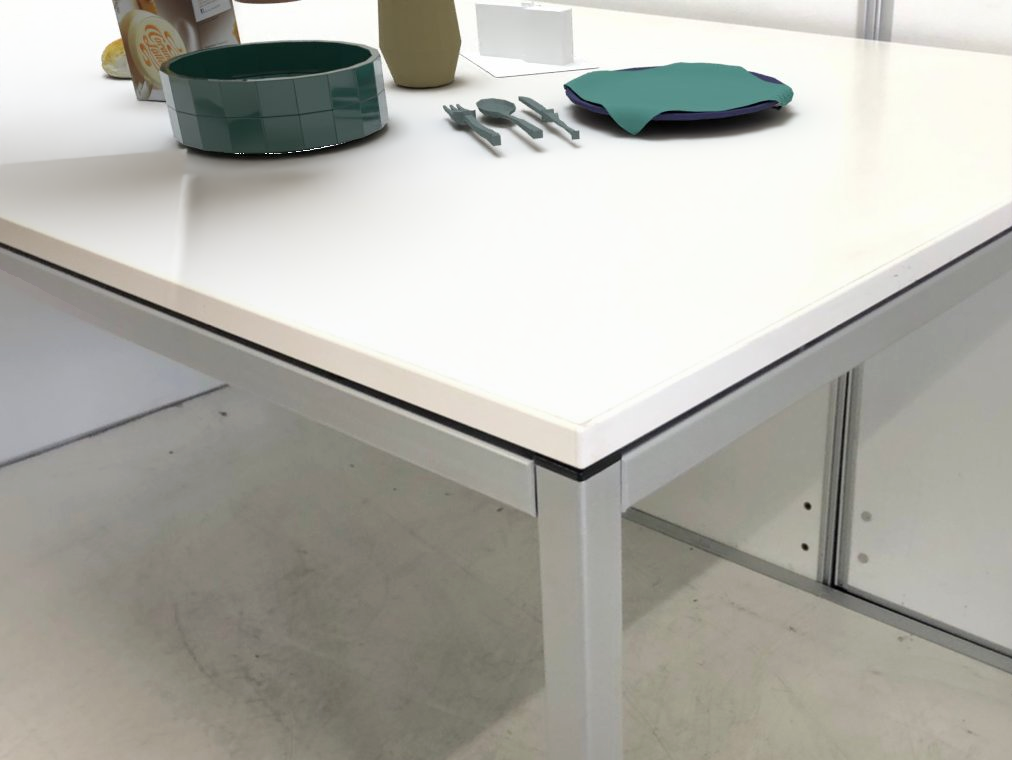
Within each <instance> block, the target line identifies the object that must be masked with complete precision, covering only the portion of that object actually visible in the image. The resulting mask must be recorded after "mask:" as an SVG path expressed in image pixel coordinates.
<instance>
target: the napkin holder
mask: <svg viewBox="0 0 1012 760" xmlns="http://www.w3.org/2000/svg"><path fill="white" fill-rule="evenodd" d="M474 6H475V16H476V19H475V20H476V30H477V42H478V50H471V51H460V52H459V55H461V56H462V57H464V58H466V59H468V60H469V61H470V62H472V63H474V65H477V66H478V67H480V68H481V69H483V70H484V71H486V72H487V73H489V74H490V75H492V76H494V77H495V78H504V77H514V76H515V77H516V76H525V75H535V74H546V73H556V72H557V73H558V72H568V71H575V70H576V71H577V70H586V69H597V68H600V67H599V66H597V65H595V64H593V63H591V62H588V61H587V60H586V59H583V58H580V57H578V56H577V55H575V53H574V32H573V31H574V29H573V8H571V7H557V6H545V5H544V6H542V4H541V3H535V2H534V1H522V2H514V1H501V0H484V1H480V2H476V3H475V5H474Z"/></svg>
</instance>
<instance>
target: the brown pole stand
mask: <svg viewBox="0 0 1012 760" xmlns="http://www.w3.org/2000/svg"><path fill="white" fill-rule="evenodd" d="M233 2H237V3H240V4H250V5H271V4H272V5H273V4H286V3H287V4H288V3H293V2H301V0H233Z"/></svg>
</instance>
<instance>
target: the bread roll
mask: <svg viewBox="0 0 1012 760" xmlns="http://www.w3.org/2000/svg"><path fill="white" fill-rule="evenodd" d="M100 59H101V68H102V70H103V72H105V73H106V74H107V75H109V76H111V77H113V78H119V79H132V77H131V73H130V69H129V65H128V62H127V58H126V54H125V50H124V46H123V42H122V37H120V38H117V39H115V40H113V41H112V42H110V43H108V44H107V45H106V46H105V48H104V50H103V51H102V54H101V57H100Z"/></svg>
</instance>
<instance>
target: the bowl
mask: <svg viewBox="0 0 1012 760" xmlns="http://www.w3.org/2000/svg"><path fill="white" fill-rule="evenodd" d="M382 64H383V63H382V54H380V52H379V50H378V49H377V48H375V47H372V46H369V45H366V44H364V43H356V42H350V41H343V40H328V39H326V40H325V39H282V40H265V41H264V40H263V41H252V42H243V43H242V42H241V44H233V45H225V46H219V47H213V48H208V49H202V50H197V51H193V52H189V53H186V54H182V55H179V56H175V57H173V58H171V59H169V60H167V61H165V62H163V63H161V66H160V69H159V73H160V77H161V81H162V86H163V90H164V95H165V99H166V101H165V103H166V108H167V112H168V117H169V121H170V125H171V129H172V134H173V138H174V139H175V140H176V141H177V142H179V143H180V144H182V145H183V146H185V147H190V148H193V149H197V150H202V151H206V152H216V153H221V152H224V153H223V154H228V153H239V154H240V153H241V154H243V153H244V154H265V153H267V154H269V153H273V154H274V153H288V152H296V151H303V150H310V149H314V148H321V147H324V146H330V145H336V144H341V143H344V142H348V141H350V142H352V140H353V141H356V140H359V139H363V138H366V137H367V136H369V135H371V134H374V133H376V132H379V131H380V130H382V129H383V128H384V127H385V126H386V125H387V123H388V122H389V119H390V118H389V111H388V105H387V96H386V95H387V94H386V89H385V88H386V87H385V79H384V72H383V65H382ZM355 139H356V140H355ZM348 143H349V142H348ZM344 144H345V143H344ZM341 145H342V144H341Z"/></svg>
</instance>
